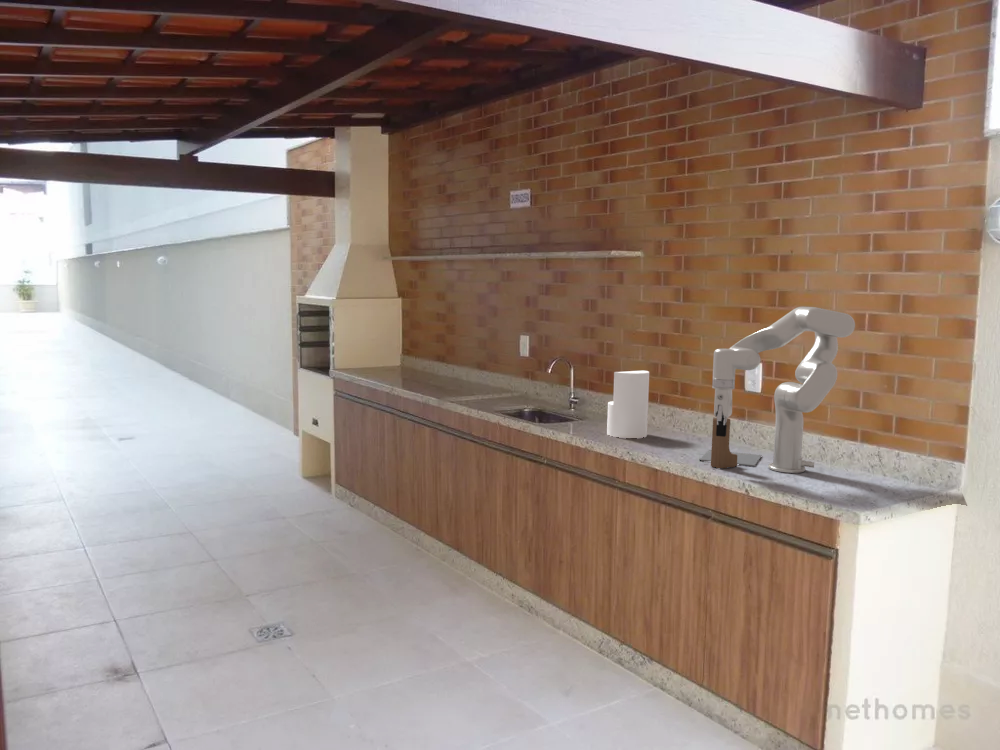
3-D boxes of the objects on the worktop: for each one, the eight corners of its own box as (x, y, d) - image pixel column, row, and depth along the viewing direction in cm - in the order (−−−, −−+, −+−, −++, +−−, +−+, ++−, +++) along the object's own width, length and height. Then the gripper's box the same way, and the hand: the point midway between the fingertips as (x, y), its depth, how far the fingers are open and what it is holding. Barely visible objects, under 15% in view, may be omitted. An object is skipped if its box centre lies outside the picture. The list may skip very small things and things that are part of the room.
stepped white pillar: (655, 436, 356) (657, 372, 353) (625, 440, 346) (628, 374, 343) (627, 430, 370) (629, 368, 367) (598, 433, 360) (600, 370, 357)
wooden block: (728, 464, 302) (730, 416, 300) (737, 466, 298) (739, 418, 296) (710, 466, 298) (712, 417, 296) (719, 469, 294) (721, 419, 292)
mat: (761, 456, 317) (761, 455, 317) (754, 466, 299) (754, 465, 299) (709, 451, 326) (709, 449, 326) (699, 461, 307) (699, 459, 307)
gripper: (731, 387, 277) (728, 440, 279) (737, 382, 291) (735, 433, 293) (708, 385, 280) (706, 438, 282) (716, 381, 294) (714, 431, 296)
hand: (721, 435), depth 288 cm, fingers closed
